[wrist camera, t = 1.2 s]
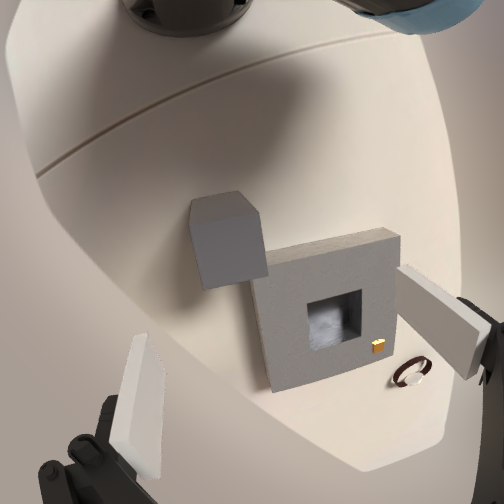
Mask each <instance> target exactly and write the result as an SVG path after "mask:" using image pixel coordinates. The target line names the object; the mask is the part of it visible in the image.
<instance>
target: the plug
mask: <svg viewBox="0 0 504 504" xmlns="http://www.w3.org/2000/svg"><path fill="white" fill-rule="evenodd" d="M189 230H190V234H191V238H192V243H193V247H194V252H195V256H196V260H197V264H198V269H199V273H200V277H201V281H202V285H203V289H204V290H207V289H212V288H217V287H221V286H226V285H231V284H236V283H240V282H245V281H249V280H254V279H259V278H263V277H268V276H269V274H268V267H267V261H266V254H265V248H264V241H263V235H262V229H261V222H260V216H259V212H258V211H257V210H256V209H255V207H254V206H253V205H252V204H251V203H250V202H249V201H248V200H247V199H246V198H245V197H244V196H243V195H242V194H241V193H240V192H239V191H233V192H228V193H222V194H217V195H212V196H207V197H203V198H198V199H193V200H192V204H191V212H190V220H189Z"/></svg>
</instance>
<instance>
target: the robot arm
mask: <svg viewBox="0 0 504 504" xmlns="http://www.w3.org/2000/svg"><path fill="white" fill-rule="evenodd" d="M122 1H123V3H124V6H125V8H126V10H127V12H128V13H129V15H130V16H131V18H132V19H133V20H134V21H135V22H136V23H137V24H139V25H140V26H142V27H143V28H145V29H147V30H149V31H151V32H154V33H157V34H160V35H165V36H171V37H193V36H199V35H204V34H208V33H212V32H215V31H217V30H220V29H222V28H224V27H226V26H228V25H230V24H231V23H233V22H234V21H236V20H237V19H238V18H240V17H241V16H242V15H243V14H244V13H245V12H246V11H247V9H248V8H249V7H250V5H251V3H252V1H253V0H122ZM334 1H336V2H338V3H340V4H342V5H344V6H346V7H348V8H350V9H351V10H352V11H354V12H355V13H356V14H358V15H360V16H362V17H365V18H369V19H373V20H375V21H377V22H379V23H381V24H383V25H385V26H386V27H388V28H390V29H392V30H394V31H396V32H399V33H402V34H407V35H413V34H417V35H427V34H432V33H436V32H440V31H443V30H446V29H448V28H450V27H452V26H454V25H456V24H458V23H460V22H461V21H463V20H464V19H466V18H467V17H469V16H470V15H471V14H472V13H473V12H474V11H475V10H477V9H478V7H479V6H480V5H481V4H482V3H483V1H484V0H334ZM395 311H396V312H397V313H398V314H399V315H400V316H401V317H402V318H403V319H404V320H405V321H406V322H407V323H408V324H409V325H410V326H411V327H412V328H413V329H414V330H416V331H417V332H418V333H419V334H420V335H421V336H422V337H423V338H424V339H425V340H426V341H427V342H428V343H429V344H430V345H431V346H432V347H433V348H434V349H435V350H436V351H437V352H438V353H439V354H440V355H441V356H442V357H443V358H444V359H445V360H446V361H447V362H448V363H449V364H450V365H451V366H452V367H453V368H454V369H455V371H456V372H457V373H459V375H460V376H461V377H462V378H463V379H464V380H467V379H469V378H471V377H472V376H474V375H475V374H477V372H478V368H479V366H480V364H481V365H483V366H484V367H485V368H484V370H483V373H482V376H481V379H480V382H479V385H481V383H482V381H483V417H482V433H481V445H480V455H479V463H478V470H477V476H476V483H475V488H474V494H473V498H472V502H471V504H504V322H502V323H498V322H497V321H496V320H494V319H493V318H492V317H490V316H489V315H488V314H486V313H485V312H484V311H482V310H480V309H479V308H478V307H477V306H475V305H474V304H473V303H471V302H470V301H469V300H467V299H464V298H461V297H457V298H455V297H454V296H452V295H451V294H449V293H448V292H447V291H445V290H444V289H442V288H441V287H440V286H438V285H437V284H435V283H434V282H433V281H431V280H430V279H428V278H427V277H425V276H424V275H422V274H421V273H419V272H418V271H417V270H415V269H414V268H412V267H411V266H409V265H408V264H406V265H403V266H400V267H397V268H396V295H395ZM165 383H166V372H165V370H164V367H163V365H162V363H161V361H160V359H159V357H158V355H157V352H156V350H155V348H154V346H153V344H152V342H151V339H150V337H149V334H148V333H144V334H138V335H134V336H133V340H132V344H131V347H130V351H129V355H128V359H127V363H126V367H125V371H124V375H123V379H122V383H121V387H120V391H119V395H111V396H108V398H107V399H106V400H105V402H104V403H103V405H102V409H101V415H100V417H99V422H98V425H97V429H96V434H95V437H94V436H93V435H90V434H82V435H79V436H77V437H75V438H74V439H73V440H72V441H71V442H70V444H69V446H68V455H69V457H70V458H71V459H72V460H73V461H74V462H75V464H71V465H67V466H63V465H62V464H61V463H60V462H59V461H56V460H51V461H48V462H46V463H44V464H43V465H42V466H41V467H40V470H39V472H38V478H39V484H40V489H41V495H42V500H43V504H157V502H156V501H155V500H154V499H153V498H152V497H151V496H150V495H149V494H148V493H147V492H146V491H145V490H144V489H143V488H142V487H141V486H140V485H139V484H138V483H137V482H136V475H137V474H138V475H139V476H140V477H141V478H142V479H160V478H161V450H162V449H161V448H162V427H163V410H164V396H165Z"/></svg>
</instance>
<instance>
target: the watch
mask: <svg viewBox="0 0 504 504" xmlns="http://www.w3.org/2000/svg"><path fill="white" fill-rule="evenodd" d="M421 360H427V363H426V366H425V367H424V368H423V369H422V370H421V371H420V372H417V373H412V374H409V375H408V376H407V377H406V378H405V381H403V382H399V383H397V381H398V378H399V376H400V375H401V374H402V373H403V371H405V370H406V369H407V368H409V367H410V366H412V365H413V364H415V363H418V362H419V361H421ZM431 367H432V362H431V361H430V360H429V359H427V358H426V357H424V356H419V357H415V358H413V359H411V360H409V361H407V363H405V364H403V365H402V366H401V367H399V368H398V369H397V371H396V372H395V374H394V376H393V381H394V382H395V384H396V385H397V386H398V387H405V386H408V385H409V386H412V385H416V384H419V383H420V382H421V380H422V377H423V376H424V375H425V374H427V373H428V372H429V371H430V369H431Z"/></svg>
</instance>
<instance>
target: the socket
mask: <svg viewBox="0 0 504 504" xmlns="http://www.w3.org/2000/svg"><path fill="white" fill-rule="evenodd" d="M265 254H266V261H267V267H268V274H269V276H268V277H263V278H259V279H254V280H249V282H250V287H251V293H252V298H253V304H254V309H255V315H256V320H257V326H258V331H259V336H260V342H261V347H262V353H263V358H264V363H265V369H266V374H267V377H268V380H269V383H270V386H271V390H272V393H275V392H279V391H283V390H287V389H291V388H294V387H298V386H302V385H305V384H309V383H312V382H316V381H319V380H322V379H326V378H329V377H332V376H335V375H338V374H341V373H345V372H348V371H351V370H354V369H356V368H359V367H362V366H365V365H368V364H371V363H373V362H376V361H379V360H381V359H384V358H387V357H389V356H392V355H393V351H394V343H395V334H396V323H397V312H396V311H395V295H396V268H397V267H400V235H398V234H396V233H394V232H392V231H390V230H388V229H386V228H384V227H381V228H377V229H372V230H367V231H363V232H358V233H353V234H349V235H344V236H339V237H334V238H330V239H325V240H320V241H316V242H311V243H306V244H301V245H297V246H292V247H287V248H282V249H278V250H273V251H268V252H265Z"/></svg>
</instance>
